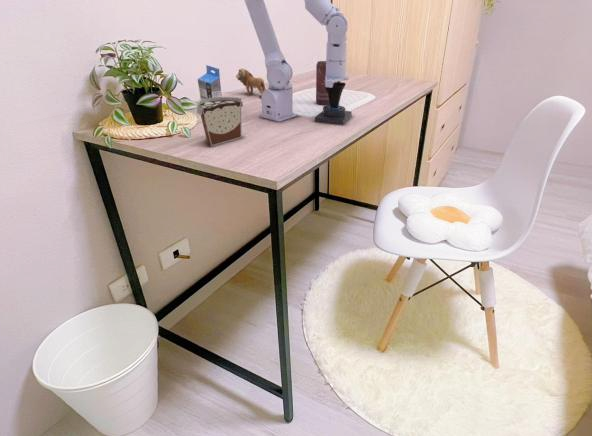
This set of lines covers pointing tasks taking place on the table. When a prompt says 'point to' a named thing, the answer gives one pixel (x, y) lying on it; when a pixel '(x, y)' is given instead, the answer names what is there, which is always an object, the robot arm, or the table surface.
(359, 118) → the table surface
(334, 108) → the blue button cap
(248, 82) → the lion figurine
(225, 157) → the table surface
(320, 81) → the can
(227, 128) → the food container
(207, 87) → the tape cartridge
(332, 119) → the button base
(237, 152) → the table surface
